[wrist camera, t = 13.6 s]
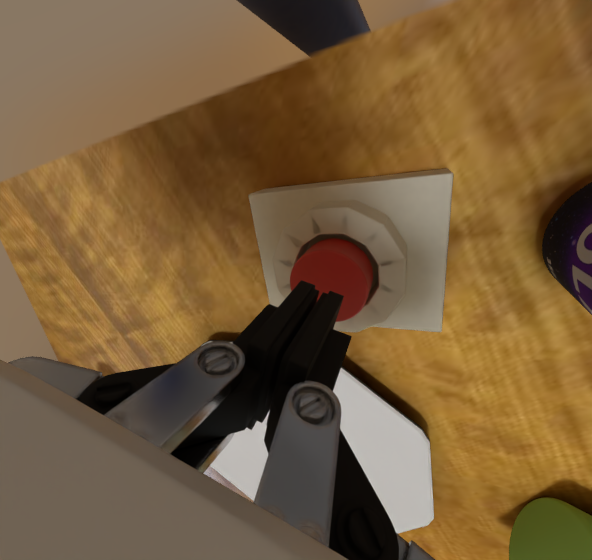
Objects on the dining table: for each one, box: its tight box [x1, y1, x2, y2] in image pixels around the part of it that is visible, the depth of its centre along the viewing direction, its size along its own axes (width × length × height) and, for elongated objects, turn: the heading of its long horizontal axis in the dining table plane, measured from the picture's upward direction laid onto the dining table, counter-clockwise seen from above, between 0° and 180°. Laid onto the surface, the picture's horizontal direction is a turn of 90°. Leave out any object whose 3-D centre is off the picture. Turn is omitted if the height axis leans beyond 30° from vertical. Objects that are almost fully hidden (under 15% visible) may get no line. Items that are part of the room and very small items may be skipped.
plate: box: [201, 340, 434, 534], centre depth 26 cm, size 24×24×2 cm
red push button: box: [290, 238, 373, 322], centre depth 13 cm, size 4×4×2 cm
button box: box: [248, 168, 453, 332], centre depth 15 cm, size 8×10×4 cm
